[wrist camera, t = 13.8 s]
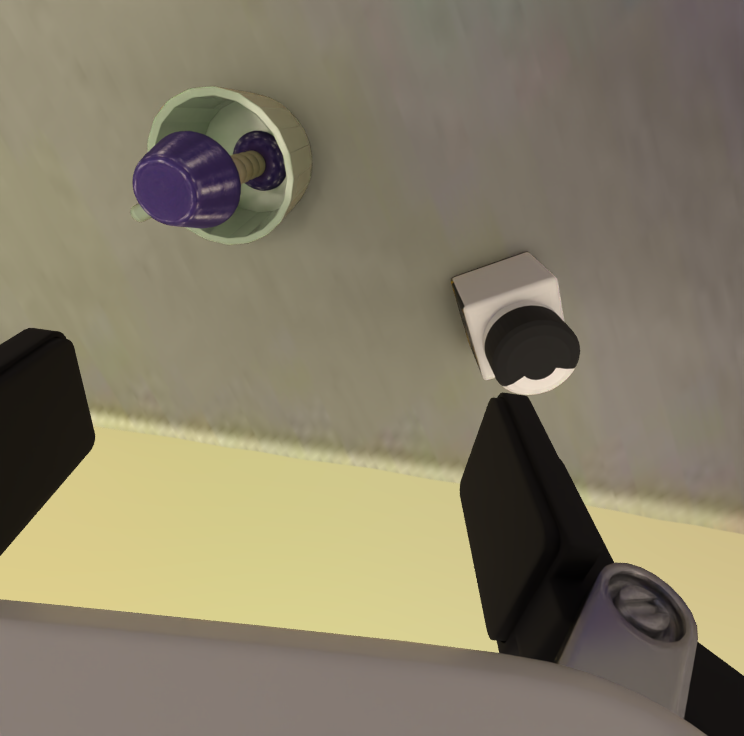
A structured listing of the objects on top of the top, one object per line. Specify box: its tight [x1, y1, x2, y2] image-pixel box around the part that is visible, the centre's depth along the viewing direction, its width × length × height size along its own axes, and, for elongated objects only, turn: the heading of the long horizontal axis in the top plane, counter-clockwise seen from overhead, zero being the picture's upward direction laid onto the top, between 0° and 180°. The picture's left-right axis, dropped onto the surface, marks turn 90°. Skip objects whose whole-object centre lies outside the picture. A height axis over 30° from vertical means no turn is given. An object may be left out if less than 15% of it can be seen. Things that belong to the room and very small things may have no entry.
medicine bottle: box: [451, 252, 580, 395], centre depth 35 cm, size 7×7×12 cm
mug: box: [130, 86, 312, 245], centre depth 30 cm, size 12×9×9 cm
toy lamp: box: [133, 131, 286, 228], centre depth 26 cm, size 5×5×17 cm
